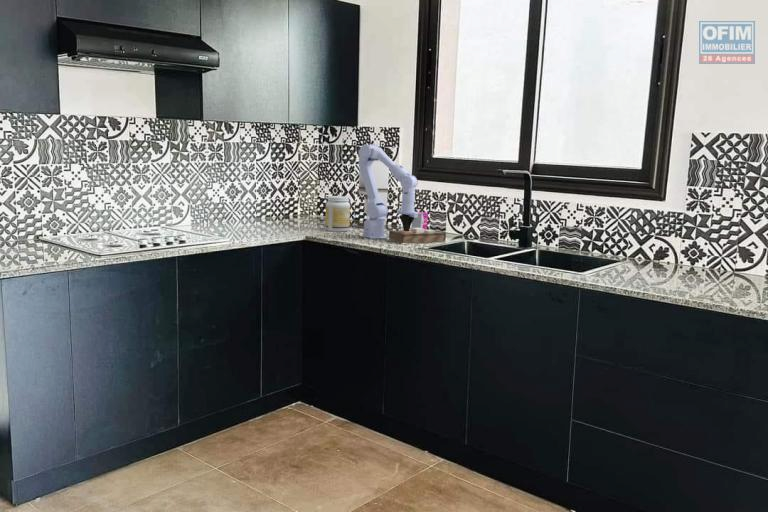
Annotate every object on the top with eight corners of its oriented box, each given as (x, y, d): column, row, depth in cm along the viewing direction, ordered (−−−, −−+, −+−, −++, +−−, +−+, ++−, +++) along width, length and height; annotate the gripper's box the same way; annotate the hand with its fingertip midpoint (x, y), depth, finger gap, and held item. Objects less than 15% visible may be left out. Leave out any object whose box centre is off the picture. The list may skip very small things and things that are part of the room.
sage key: (427, 238, 324) (427, 231, 324) (422, 237, 328) (422, 229, 327) (435, 238, 327) (435, 230, 326) (429, 236, 330) (430, 229, 330)
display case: (375, 226, 369) (378, 160, 363) (385, 229, 360) (389, 161, 354) (356, 226, 363) (359, 159, 357) (366, 229, 354) (370, 161, 348)
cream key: (416, 236, 321) (416, 229, 320) (411, 235, 324) (411, 227, 324) (424, 236, 323) (424, 229, 323) (418, 235, 327) (419, 227, 326)
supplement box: (420, 236, 340) (421, 213, 338) (410, 234, 343) (411, 212, 341) (426, 235, 344) (428, 212, 342) (417, 234, 348) (418, 211, 346)
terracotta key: (404, 239, 318) (404, 231, 317) (399, 237, 321) (399, 230, 321) (412, 239, 320) (412, 231, 319) (407, 237, 324) (407, 230, 323)
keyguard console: (402, 244, 313) (403, 234, 312) (388, 239, 323) (389, 230, 322) (445, 242, 326) (445, 233, 325) (430, 238, 336) (431, 229, 335)
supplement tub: (353, 230, 348) (355, 197, 345) (341, 233, 337) (342, 198, 334) (333, 227, 353) (334, 195, 350) (320, 230, 342) (321, 196, 340)
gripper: (424, 203, 314) (422, 233, 316) (406, 200, 326) (404, 228, 328) (411, 203, 310) (409, 233, 312) (394, 200, 322) (392, 229, 324)
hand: (406, 231), depth 320 cm, fingers closed, pressing on terracotta key
